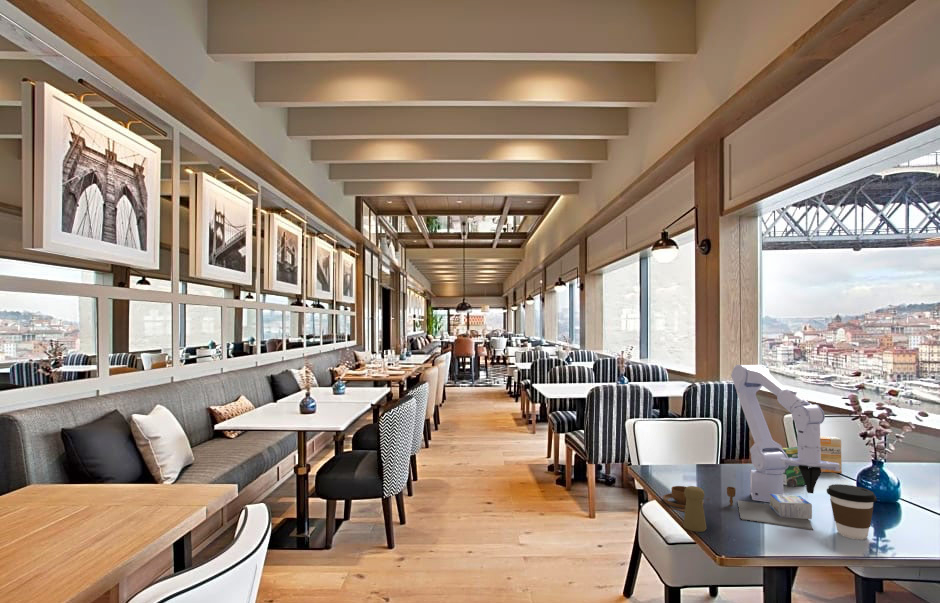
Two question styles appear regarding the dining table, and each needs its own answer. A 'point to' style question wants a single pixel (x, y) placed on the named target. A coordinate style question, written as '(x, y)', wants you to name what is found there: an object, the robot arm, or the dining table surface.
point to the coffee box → (792, 470)
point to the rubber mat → (769, 515)
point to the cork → (694, 509)
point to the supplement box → (831, 452)
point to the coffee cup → (852, 510)
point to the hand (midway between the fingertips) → (810, 492)
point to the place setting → (681, 499)
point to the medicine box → (791, 506)
